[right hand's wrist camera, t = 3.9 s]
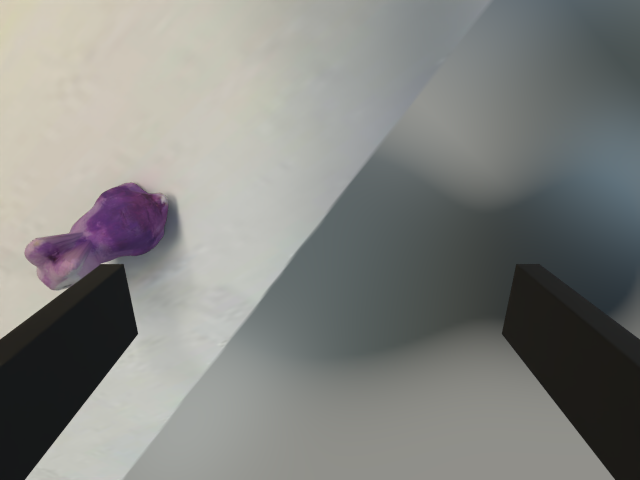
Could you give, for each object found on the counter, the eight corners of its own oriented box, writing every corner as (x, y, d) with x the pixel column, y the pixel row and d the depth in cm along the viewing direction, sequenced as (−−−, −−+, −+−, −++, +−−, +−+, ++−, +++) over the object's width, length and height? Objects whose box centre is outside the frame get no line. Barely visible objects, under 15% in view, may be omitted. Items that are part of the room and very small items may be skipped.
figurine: (94, 249, 48) (-1, 312, 33) (95, 172, 44) (-10, 206, 30) (168, 265, 48) (105, 332, 34) (175, 190, 45) (109, 231, 31)
